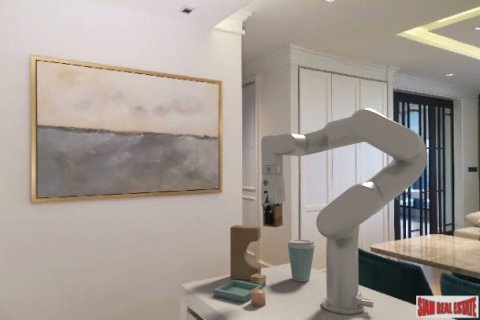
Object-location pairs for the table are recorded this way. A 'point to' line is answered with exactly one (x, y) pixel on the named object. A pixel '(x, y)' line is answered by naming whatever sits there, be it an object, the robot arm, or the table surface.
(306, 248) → the disposable coffee cup
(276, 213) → the walnut block
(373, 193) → the robot arm
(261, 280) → the oak cube
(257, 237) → the decorative block
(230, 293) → the tray
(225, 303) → the table surface
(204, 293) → the table surface
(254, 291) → the peach round blob
